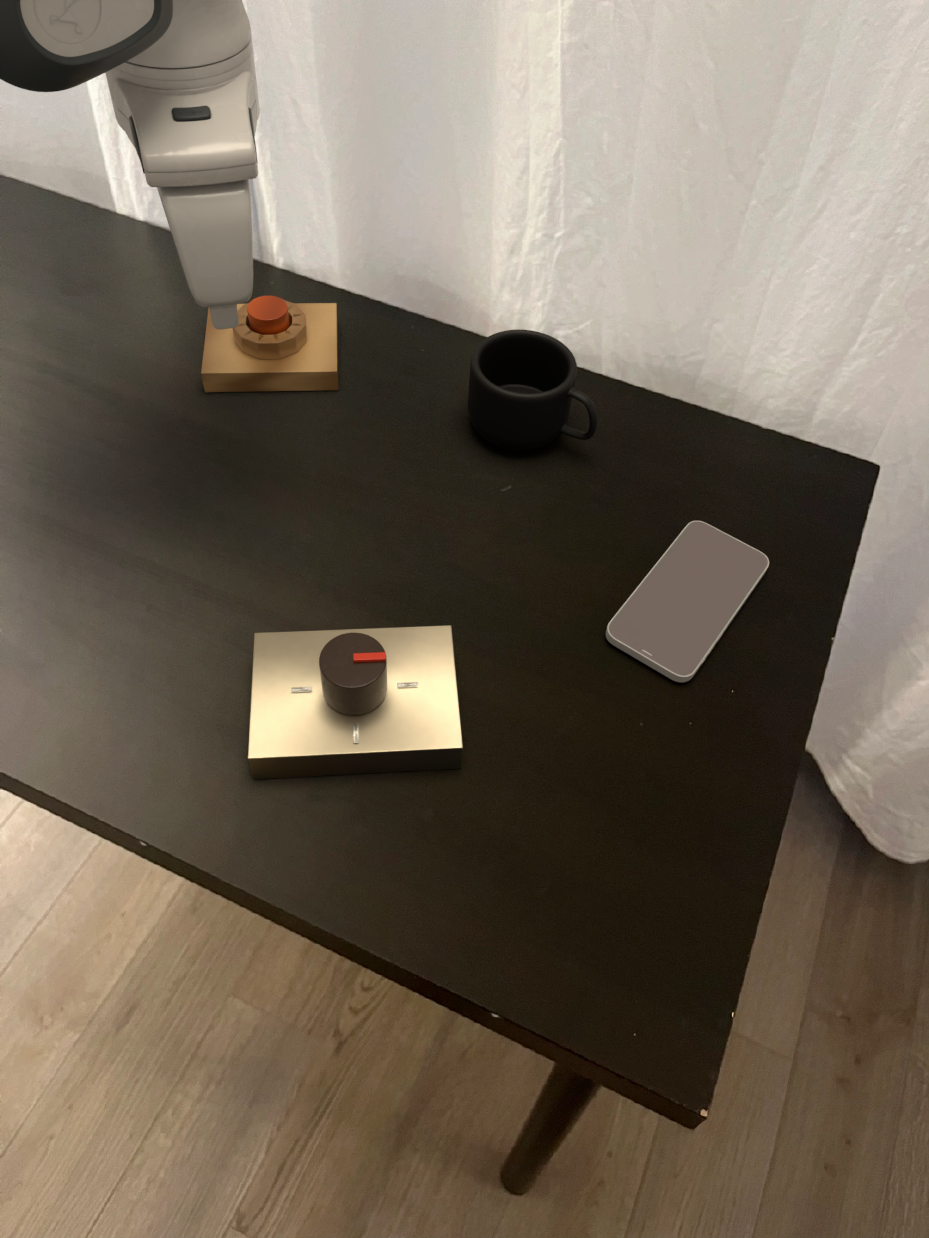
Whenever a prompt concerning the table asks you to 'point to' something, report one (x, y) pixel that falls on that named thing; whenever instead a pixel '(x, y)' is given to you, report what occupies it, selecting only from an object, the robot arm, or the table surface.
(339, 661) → the dial knob
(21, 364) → the table surface
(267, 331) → the red button
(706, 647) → the smartphone
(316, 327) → the button block
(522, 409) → the mug
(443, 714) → the dial panel
